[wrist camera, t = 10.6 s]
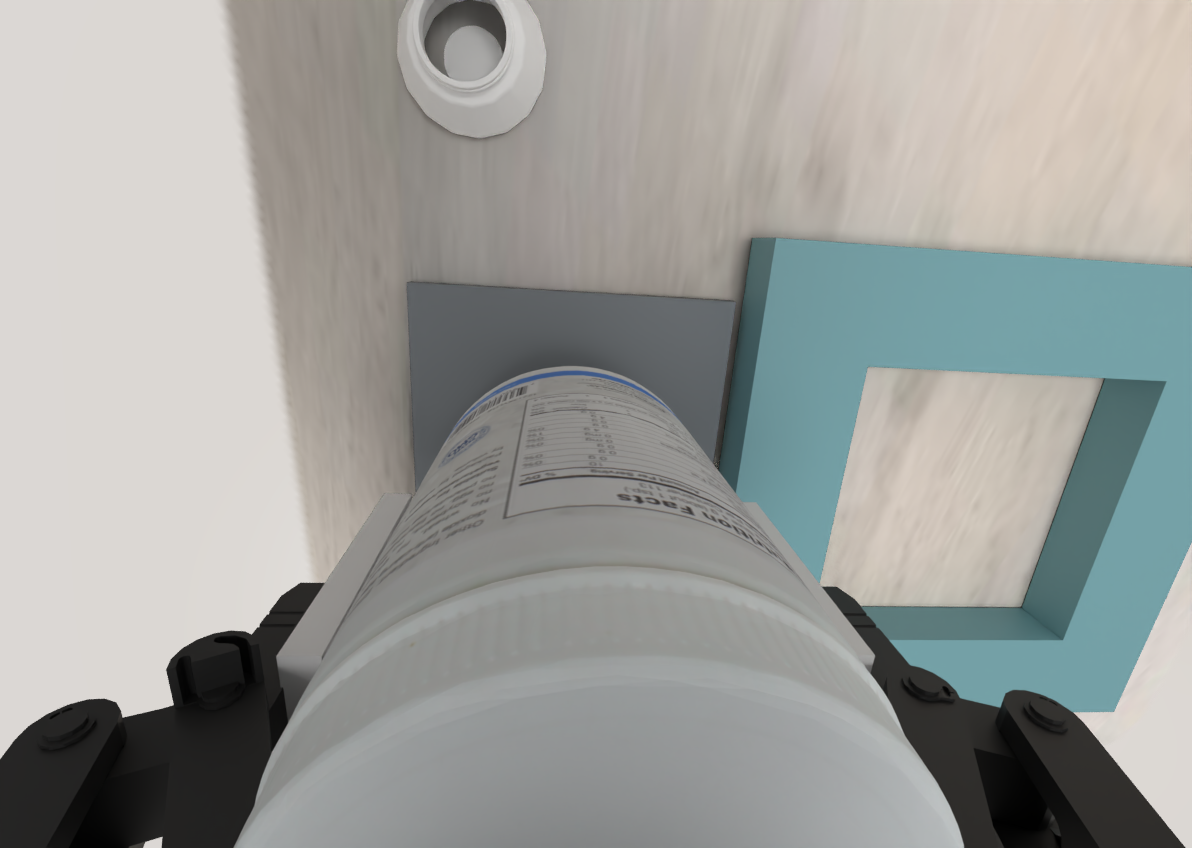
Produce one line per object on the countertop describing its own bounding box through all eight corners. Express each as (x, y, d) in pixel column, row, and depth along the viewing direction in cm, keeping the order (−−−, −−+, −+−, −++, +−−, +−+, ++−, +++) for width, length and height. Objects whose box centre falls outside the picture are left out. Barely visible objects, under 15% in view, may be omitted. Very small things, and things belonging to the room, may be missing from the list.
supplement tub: (652, 612, 23) (814, 1208, 9) (418, 570, 21) (162, 1203, 7) (730, 390, 20) (1149, 743, 6) (466, 324, 18) (201, 585, 4)
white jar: (573, 82, 20) (485, -58, 19) (576, 57, 17) (474, -111, 16) (465, 168, 21) (373, 39, 19) (452, 157, 18) (342, 5, 16)
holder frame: (752, 237, 22) (776, 237, 20) (1239, 271, 24) (1313, 275, 22) (688, 677, 29) (700, 716, 27) (1071, 675, 31) (1113, 711, 29)
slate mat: (410, 281, 22) (406, 282, 21) (731, 300, 23) (735, 302, 22) (422, 567, 26) (419, 574, 25) (694, 570, 27) (697, 577, 26)
